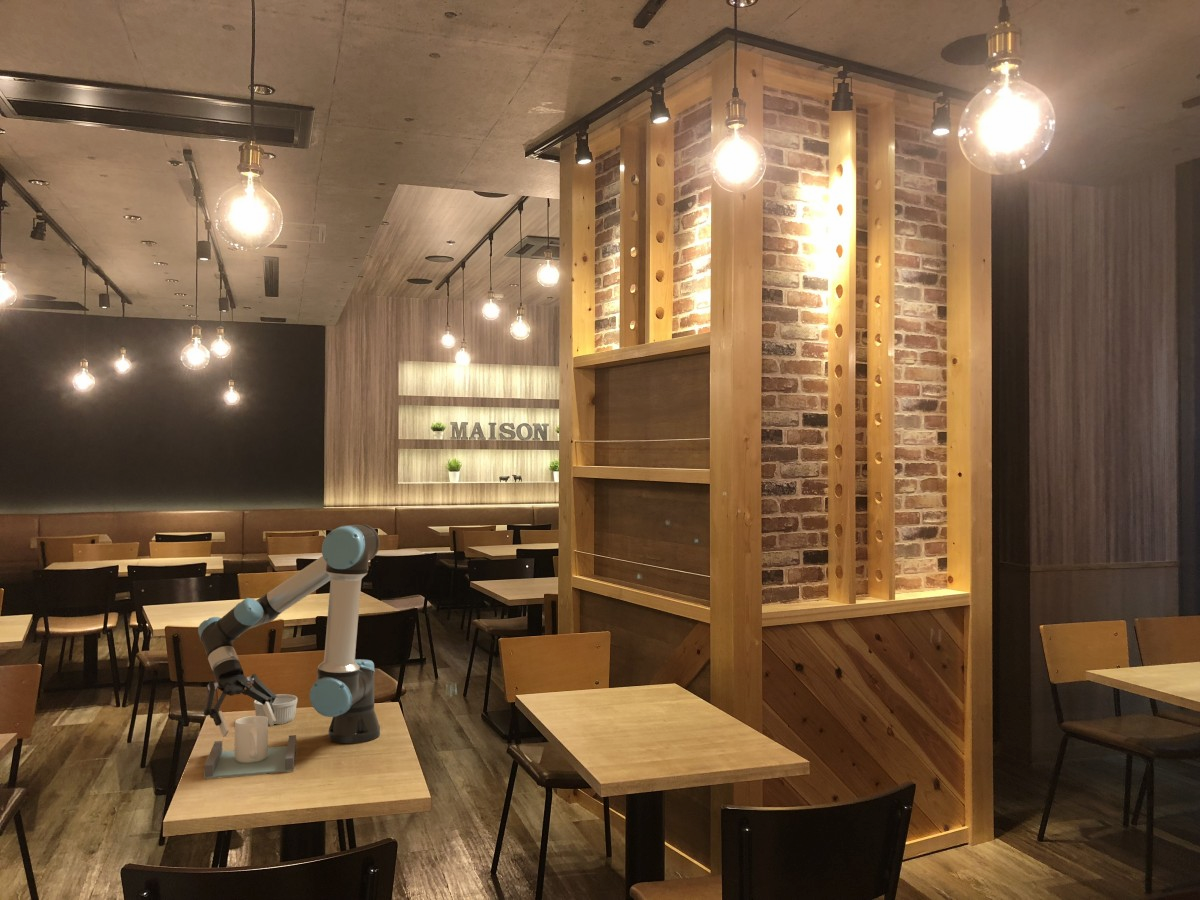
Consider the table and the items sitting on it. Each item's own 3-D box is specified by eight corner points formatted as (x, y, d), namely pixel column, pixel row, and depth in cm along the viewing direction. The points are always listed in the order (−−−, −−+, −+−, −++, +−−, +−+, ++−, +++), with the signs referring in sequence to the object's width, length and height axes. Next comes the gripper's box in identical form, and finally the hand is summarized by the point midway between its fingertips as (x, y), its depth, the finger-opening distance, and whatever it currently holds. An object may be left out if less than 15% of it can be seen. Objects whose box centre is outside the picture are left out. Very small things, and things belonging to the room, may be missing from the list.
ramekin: (253, 728, 289) (254, 706, 290) (253, 717, 302) (253, 696, 302) (298, 724, 294) (298, 702, 294) (296, 713, 306) (296, 692, 307)
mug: (238, 769, 249) (238, 728, 249) (232, 756, 259) (233, 718, 259) (271, 764, 253) (272, 724, 253) (265, 752, 263) (265, 714, 263)
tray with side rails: (214, 754, 264) (214, 741, 264) (296, 747, 270) (296, 735, 270) (204, 779, 242) (204, 765, 242) (293, 771, 249) (293, 758, 249)
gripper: (262, 667, 278) (287, 727, 267) (178, 681, 260) (200, 746, 249) (271, 651, 274) (296, 712, 264) (186, 665, 256) (209, 730, 246)
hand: (250, 728), depth 257 cm, fingers open, 13 cm apart
